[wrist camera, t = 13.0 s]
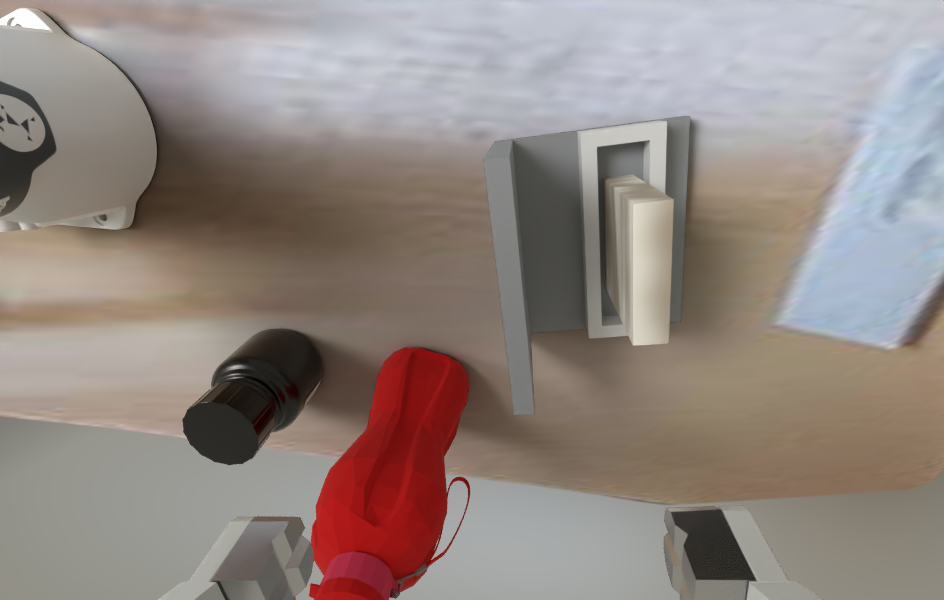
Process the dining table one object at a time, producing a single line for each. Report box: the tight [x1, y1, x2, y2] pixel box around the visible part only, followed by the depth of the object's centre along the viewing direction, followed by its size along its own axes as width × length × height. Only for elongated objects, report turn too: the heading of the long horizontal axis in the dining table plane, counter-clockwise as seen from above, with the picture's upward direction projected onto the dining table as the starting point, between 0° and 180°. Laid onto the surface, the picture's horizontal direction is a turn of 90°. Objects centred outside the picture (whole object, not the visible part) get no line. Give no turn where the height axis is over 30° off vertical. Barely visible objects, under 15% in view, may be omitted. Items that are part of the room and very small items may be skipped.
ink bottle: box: [182, 329, 323, 465], centre depth 45 cm, size 10×9×12 cm
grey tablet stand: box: [483, 116, 690, 415], centre depth 35 cm, size 16×18×14 cm
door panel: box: [603, 175, 674, 346], centre depth 35 cm, size 3×10×11 cm, turn 8°
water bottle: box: [309, 347, 470, 600], centre depth 38 cm, size 9×11×25 cm
